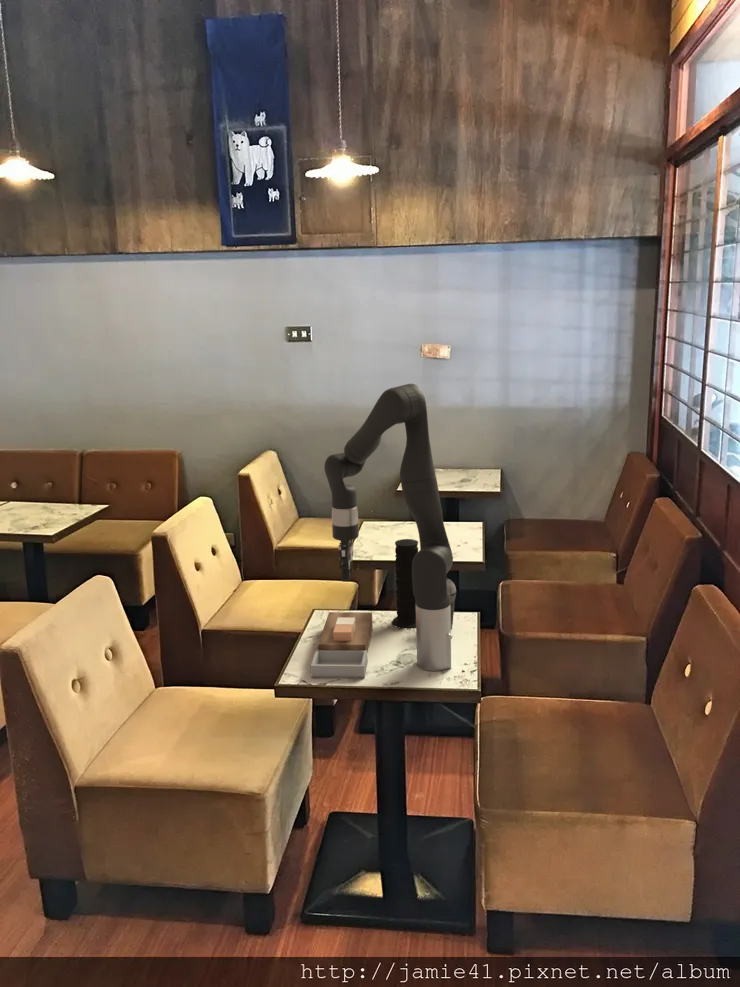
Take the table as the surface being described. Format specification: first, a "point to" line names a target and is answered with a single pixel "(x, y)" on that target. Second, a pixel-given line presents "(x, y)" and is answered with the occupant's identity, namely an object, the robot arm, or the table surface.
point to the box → (339, 664)
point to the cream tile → (346, 621)
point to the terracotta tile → (343, 633)
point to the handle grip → (405, 583)
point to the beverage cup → (451, 597)
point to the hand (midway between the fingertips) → (347, 576)
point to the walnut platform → (359, 637)
